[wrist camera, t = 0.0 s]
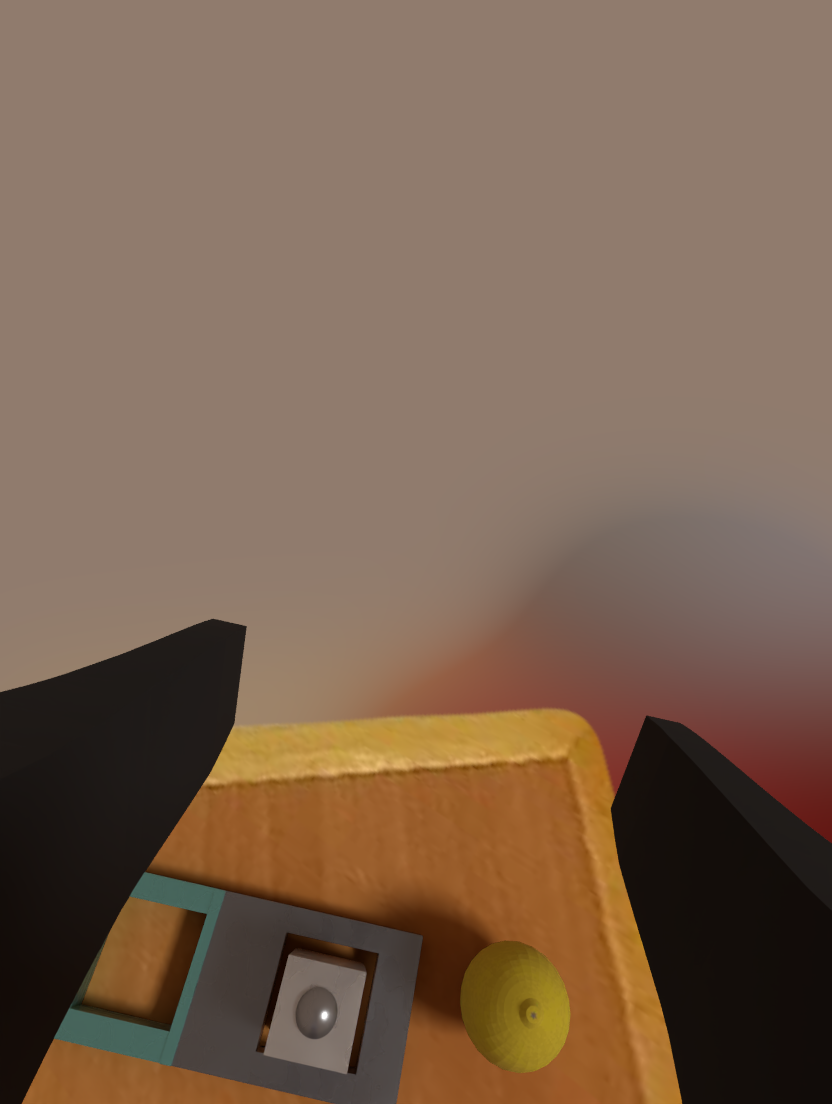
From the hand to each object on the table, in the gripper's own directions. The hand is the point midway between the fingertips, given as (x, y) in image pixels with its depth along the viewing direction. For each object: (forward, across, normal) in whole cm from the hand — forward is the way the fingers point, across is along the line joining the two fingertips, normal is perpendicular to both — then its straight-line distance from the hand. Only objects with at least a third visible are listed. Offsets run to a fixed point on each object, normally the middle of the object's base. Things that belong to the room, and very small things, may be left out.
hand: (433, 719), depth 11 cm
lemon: (+17, -9, +28) cm, 34 cm away
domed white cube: (+15, +1, +30) cm, 33 cm away
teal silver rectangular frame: (+15, +6, +29) cm, 34 cm away
